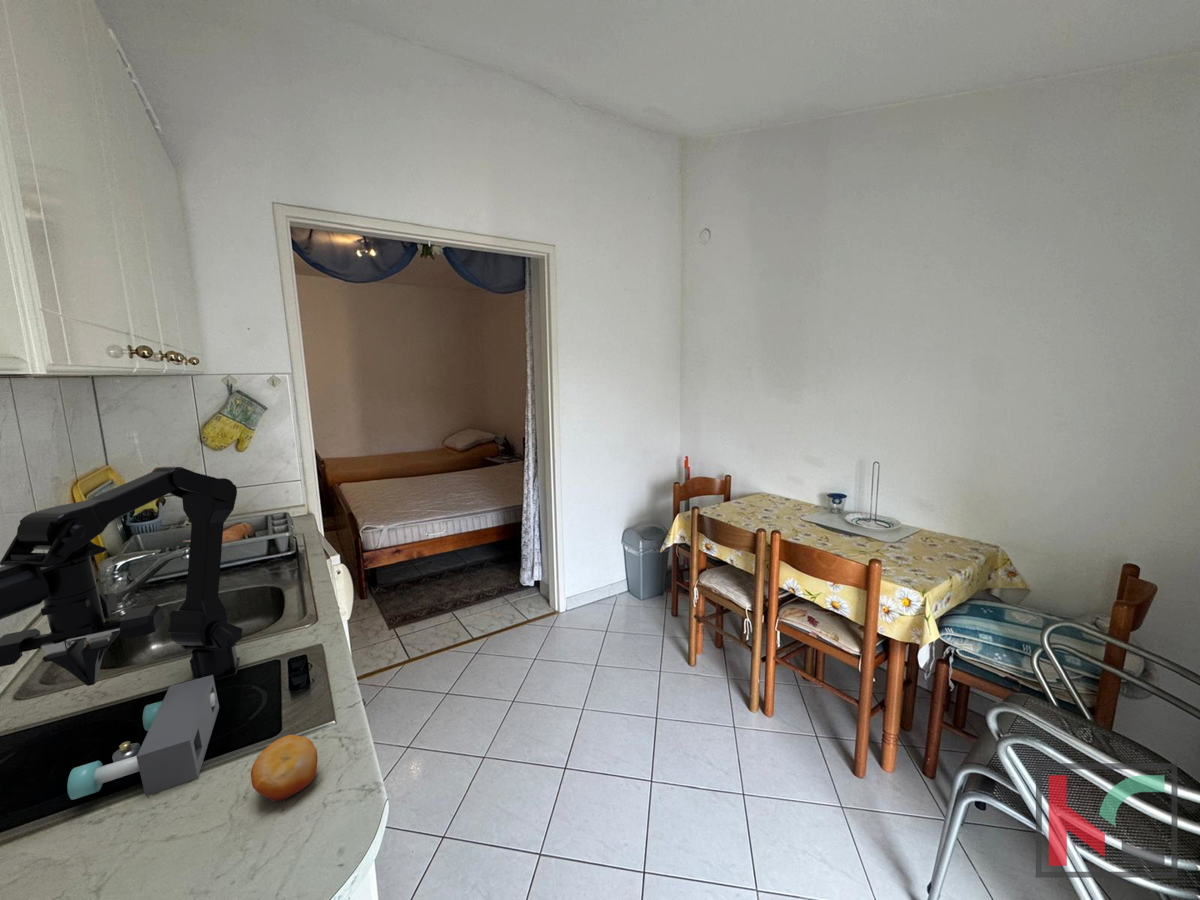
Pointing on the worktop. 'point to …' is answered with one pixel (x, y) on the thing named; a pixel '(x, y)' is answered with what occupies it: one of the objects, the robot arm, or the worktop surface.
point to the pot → (126, 751)
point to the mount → (178, 736)
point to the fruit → (284, 767)
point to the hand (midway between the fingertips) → (92, 683)
